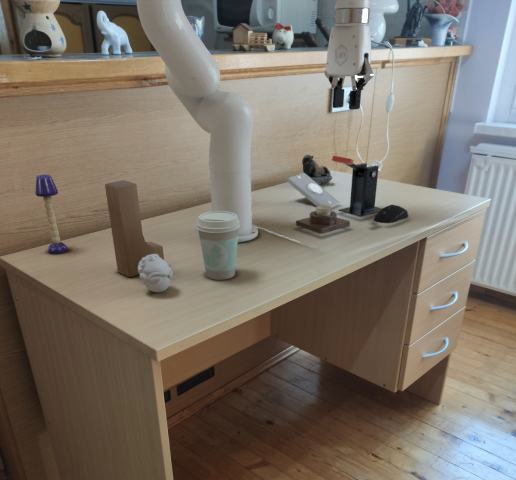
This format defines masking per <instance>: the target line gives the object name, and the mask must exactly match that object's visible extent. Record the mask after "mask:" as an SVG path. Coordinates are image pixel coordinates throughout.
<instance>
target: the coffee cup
mask: <svg viewBox="0 0 516 480" xmlns="http://www.w3.org/2000/svg"><path fill="white" fill-rule="evenodd" d="M195 226H196V228H197V229H198V232H199V234H198V237H199V243H200V248H201V253H202V258H203V259H202V260H203V263H204V264H203V265H204V270H205V276H206V277H207V278H208V279H210V280H217V281H220V280H221V281H222V280H223V281H224V280H229V279H231V278H233V277H234V276H236V265H237V253H238V243H239V242H238V230H239V227H240V222H239V220H238V217H237V215H236V214H235V213H232V212H226V211H213V212H212V211H207V212H203V213H201V214H199V215H198V219H197V222H196V225H195Z"/></svg>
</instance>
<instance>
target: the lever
mask: <svg viewBox="0 0 516 480" xmlns="http://www.w3.org/2000/svg"><path fill="white" fill-rule="evenodd" d="M331 161H332V162H334V163H339V164H343V165H345V166H347V167H349V168H351V169H352V170H353V169H354V170H356V171H358V175H359V176H361V177H363V178H364V170H365V167H364V166H361V167H359V166H357V164H355V163H354V159H352V158H349V157H343V156H338V155H332V158H331Z"/></svg>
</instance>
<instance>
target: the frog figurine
mask: <svg viewBox="0 0 516 480" xmlns="http://www.w3.org/2000/svg"><path fill="white" fill-rule="evenodd" d="M138 272H139V274H138V275H139V279H140V280H142V284H143V285H144V286H145V288H147V289H148V290H149V291H151V292H152V293H162V292H164V291H166V290H167V289H168V288H169V287H170V284H171V281H172V280H173V274H174V272H173V271H172V268H171V267H170V265H169V263H168V262H167V261H166V260H165V259H164V260H163V259H162V258H160V257H159V255H158V254H151V255H147V256H145V257H143V258H142V260H140V262H139V265H138Z"/></svg>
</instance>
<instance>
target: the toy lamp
mask: <svg viewBox="0 0 516 480" xmlns="http://www.w3.org/2000/svg"><path fill="white" fill-rule="evenodd" d="M34 190H35V192H34V193H35V196H36V197H39V198H42V199H43V202H44V209H45V214H46V215H47V222H48V228H49V230H50V235H51V241H52V242H51V243H50V244H49V246H48V249H47V252H48V253H49V254H53V255H55V254H62V253H65V252H67V251H68V249H69V248H68V246H67V245H66V244H65V243H64V242H62V241H61V237H60V232H59V229H58V224H57V218H56V216H55V215H56V214H55V213H56V212H55V210H54V204H53V197H54V196H57V195H58V194H59V190H58V188H57V186H56V183H55V182H54V179H53V177H52V175H50V174H37V175H36V177H35V189H34Z"/></svg>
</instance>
